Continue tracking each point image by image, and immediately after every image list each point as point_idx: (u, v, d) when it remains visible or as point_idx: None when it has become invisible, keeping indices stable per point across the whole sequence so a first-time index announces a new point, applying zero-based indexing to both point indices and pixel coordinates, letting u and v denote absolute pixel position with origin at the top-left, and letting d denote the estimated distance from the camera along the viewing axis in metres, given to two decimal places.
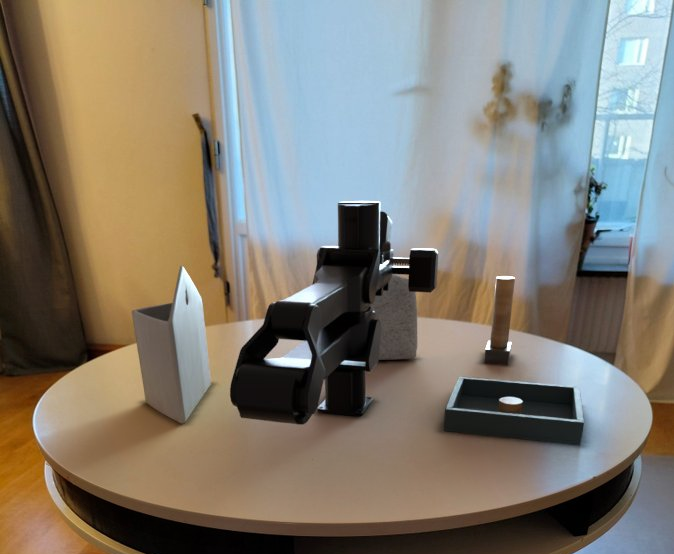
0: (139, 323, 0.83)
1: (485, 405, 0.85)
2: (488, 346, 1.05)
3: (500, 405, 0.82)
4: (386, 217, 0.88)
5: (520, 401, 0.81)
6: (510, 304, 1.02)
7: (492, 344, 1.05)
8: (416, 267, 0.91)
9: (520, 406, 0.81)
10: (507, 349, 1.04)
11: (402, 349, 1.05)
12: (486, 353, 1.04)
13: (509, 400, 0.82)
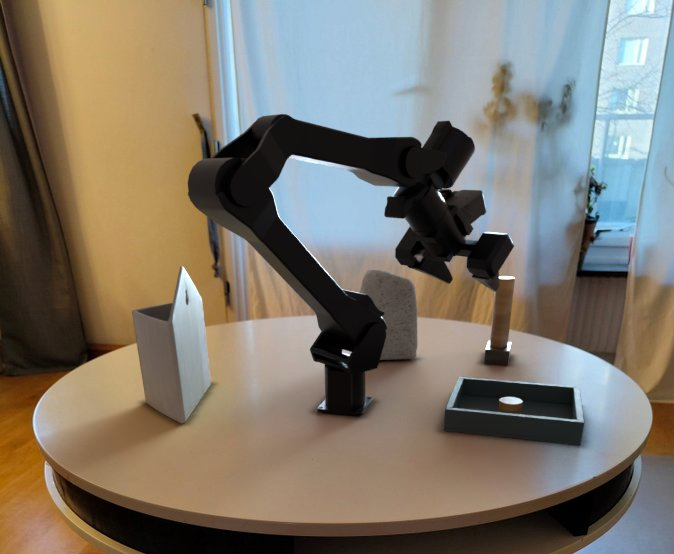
0: (139, 323, 0.83)
1: (485, 405, 0.85)
2: (488, 346, 1.05)
3: (500, 405, 0.82)
4: (480, 193, 0.88)
5: (520, 401, 0.81)
6: (510, 304, 1.02)
7: (492, 344, 1.05)
8: (484, 242, 0.85)
9: (520, 406, 0.81)
10: (507, 349, 1.04)
11: (402, 349, 1.05)
12: (486, 353, 1.04)
13: (509, 400, 0.82)
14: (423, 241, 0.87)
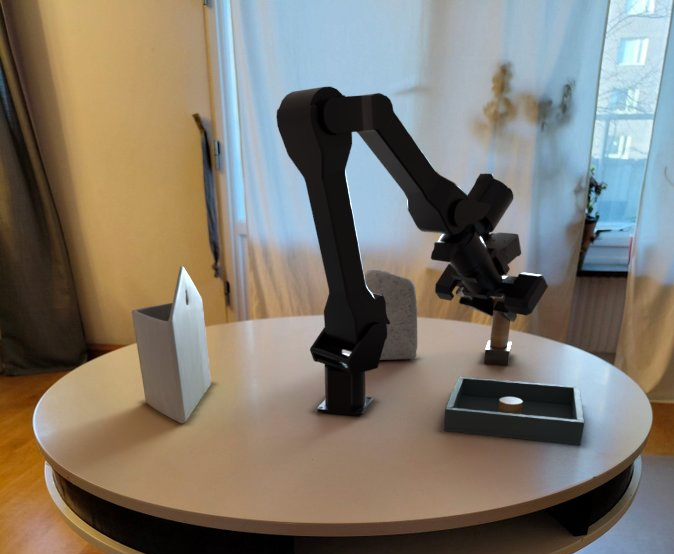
0: (139, 323, 0.83)
1: (485, 405, 0.85)
2: (488, 346, 1.05)
3: (500, 405, 0.82)
4: (516, 236, 0.96)
5: (520, 401, 0.81)
6: None
7: (492, 344, 1.05)
8: (520, 282, 0.93)
9: (520, 406, 0.81)
10: (507, 348, 1.04)
11: (402, 349, 1.05)
12: (486, 353, 1.04)
13: (509, 400, 0.82)
14: (464, 280, 0.95)
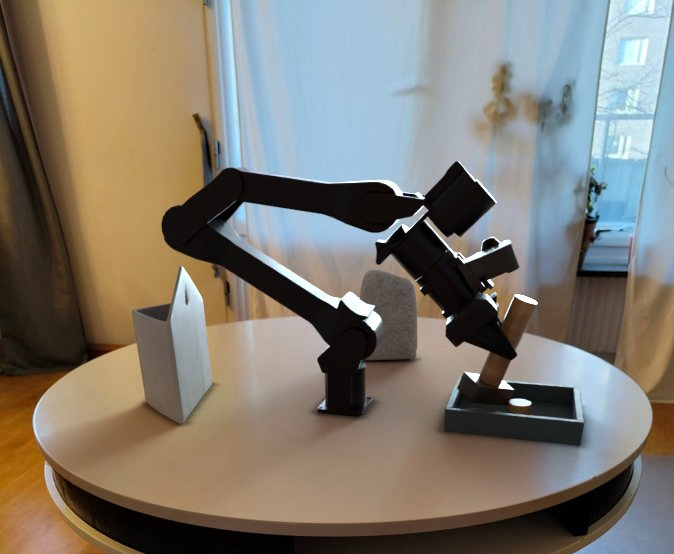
0: (139, 323, 0.83)
1: (485, 405, 0.85)
2: (476, 374, 0.82)
3: (509, 407, 0.81)
4: (504, 246, 0.72)
5: (529, 403, 0.81)
6: (513, 333, 0.77)
7: (480, 373, 0.82)
8: (465, 304, 0.71)
9: (529, 408, 0.80)
10: (485, 385, 0.80)
11: (402, 349, 1.05)
12: (462, 377, 0.82)
13: (518, 401, 0.81)
14: None
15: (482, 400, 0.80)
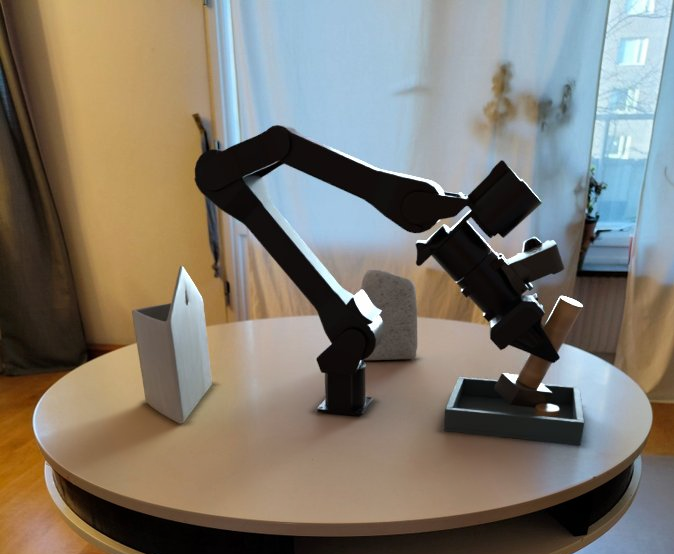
0: (139, 323, 0.83)
1: (485, 405, 0.85)
2: (514, 375, 0.81)
3: (535, 411, 0.79)
4: (549, 247, 0.71)
5: (557, 409, 0.79)
6: (556, 336, 0.75)
7: (518, 375, 0.80)
8: (510, 306, 0.70)
9: (556, 414, 0.78)
10: (524, 387, 0.78)
11: (402, 349, 1.05)
12: (500, 378, 0.80)
13: (546, 407, 0.79)
14: None
15: (520, 402, 0.79)
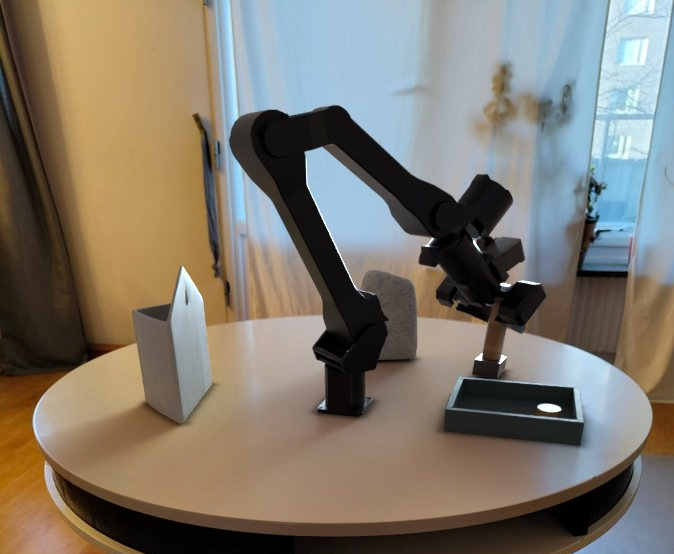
0: (139, 323, 0.83)
1: (485, 405, 0.85)
2: (479, 357, 0.98)
3: (537, 412, 0.79)
4: (518, 241, 0.90)
5: (558, 409, 0.78)
6: None
7: (483, 355, 0.98)
8: (516, 290, 0.87)
9: (558, 414, 0.78)
10: (498, 362, 0.96)
11: (402, 349, 1.05)
12: (475, 363, 0.97)
13: (548, 407, 0.79)
14: (457, 286, 0.90)
15: (499, 374, 0.97)
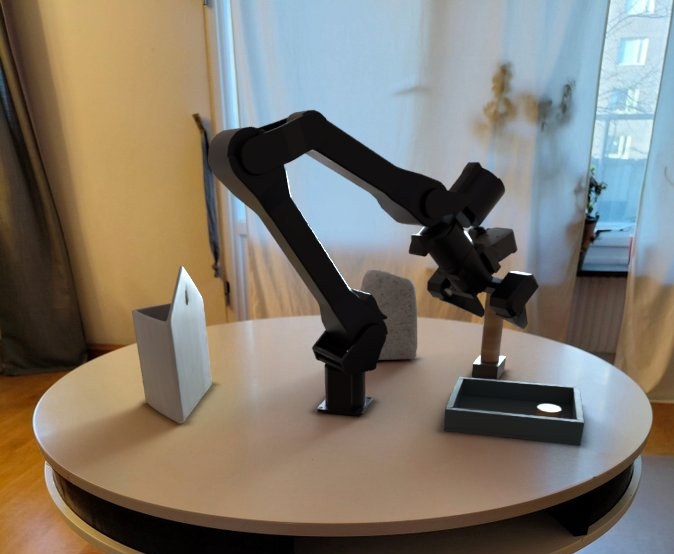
0: (139, 323, 0.83)
1: (485, 405, 0.85)
2: (478, 360, 0.98)
3: (537, 412, 0.79)
4: (510, 232, 0.88)
5: (558, 409, 0.78)
6: None
7: (482, 358, 0.98)
8: (508, 281, 0.85)
9: (558, 414, 0.78)
10: (497, 364, 0.96)
11: (402, 349, 1.05)
12: (474, 367, 0.97)
13: (548, 407, 0.79)
14: (448, 277, 0.88)
15: (498, 375, 0.97)
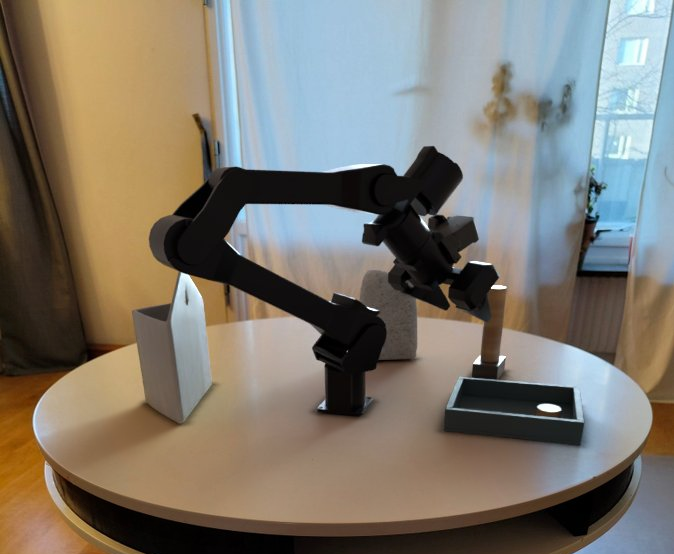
0: (139, 323, 0.83)
1: (485, 405, 0.85)
2: (478, 360, 0.98)
3: (537, 412, 0.79)
4: (471, 220, 0.84)
5: (558, 409, 0.78)
6: (501, 316, 0.94)
7: (482, 358, 0.98)
8: (467, 271, 0.81)
9: (558, 414, 0.78)
10: (497, 364, 0.96)
11: (402, 349, 1.05)
12: (474, 367, 0.97)
13: (548, 407, 0.79)
14: (406, 268, 0.84)
15: (498, 375, 0.97)
